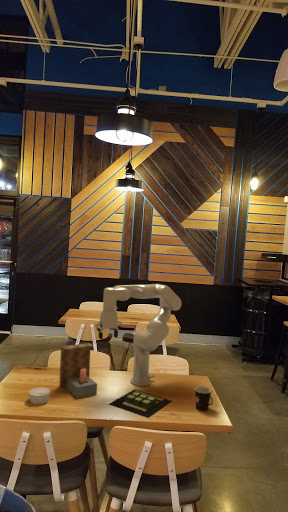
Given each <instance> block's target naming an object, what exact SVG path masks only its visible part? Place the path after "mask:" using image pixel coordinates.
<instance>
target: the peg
mask: <svg viewBox="0 0 288 512" xmlns="http://www.w3.org/2000/svg"><path fill="white" fill-rule="evenodd" d="M83 383H86V369H81V372H80V384H83Z"/></svg>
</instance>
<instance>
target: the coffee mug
mask: <svg viewBox="0 0 288 512" xmlns="http://www.w3.org/2000/svg"><path fill="white" fill-rule="evenodd" d="M211 393H212V389H211V388H209V387H205V386H196V387H195V388H194V395H195V396H194V397H195V409H196V410H197V411H202V412H206V411H208V410H209V406H211V405H212V404H213V402H214V400H213V397H212V396H211ZM210 400H211V402H210Z"/></svg>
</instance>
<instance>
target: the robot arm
mask: <svg viewBox="0 0 288 512" xmlns="http://www.w3.org/2000/svg"><path fill="white" fill-rule="evenodd" d="M130 298H134V299H142V300H146V299H155V298H156V299H157V298H158V299H159V309H158V312H157V313H156V314H155V316H153V317H152V319H151V320H150V321H149V322H148V323H147V324H146V327H145V328H146V331H147V332H146V331H143V330H140V331H137V332H136V333H135V334H134V335H133V339H132V340H133V352H134V353H133V355H134V356H133V369H132V370H133V374H132V378H131V379H129V380H130V381H129V382H130V383H131V384H132V385H134V386H137V387H138V386H139V387H143V386H144V387H145V386H148V385H150V384H151V382H152V381H151V379H154V378H155V377H156V374H151V373H149V371H150V352H153V351H155V350H156V349H157V348H158V347H159V346H160V345H161V344H162V343H163V342H164V340H165V339H166V338H167V337H168V335H169V333H170V327H169V325H168V322H169V321H170V319H171V315H172V311H178V310H180V309H181V308H182V303H183V302H182V299H181V298H180V297H179V296H178V295H177V294H176V293H175V292H174V291H173V290H172V289H171V287H169V286H168V285H165V284H160V283H151V284H129V285H127V284H126V285H125V284H124V285H123V284H121V285H114V286H113V287H105V288H104V289H103V298H102V299H103V303H102V304H103V305H102V310H101V312H100V317H99V321H98V322H97V323H96V324H94V327H95V329H96V330H97V332H98V338H99V339H100V340H103V339H104V338H103V335H104V333H103V331H104V330H109V329H110V330H111V329H114V330H113V337H114V338H116V339H118V336H119V330H120V329H121V328H122V325H123V322H121V321H119V318H118V311H117V310H118V308H119V307H118V306H117V301H127V300H129V299H130Z"/></svg>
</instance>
